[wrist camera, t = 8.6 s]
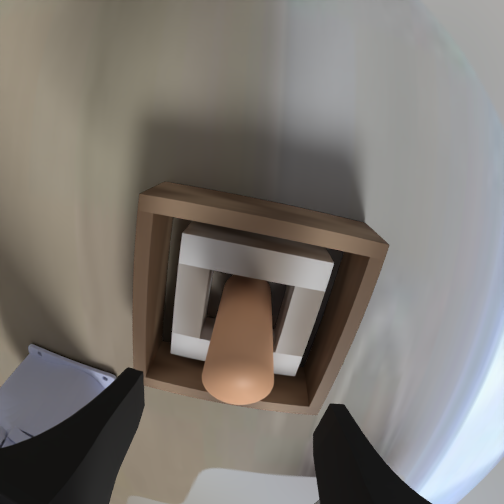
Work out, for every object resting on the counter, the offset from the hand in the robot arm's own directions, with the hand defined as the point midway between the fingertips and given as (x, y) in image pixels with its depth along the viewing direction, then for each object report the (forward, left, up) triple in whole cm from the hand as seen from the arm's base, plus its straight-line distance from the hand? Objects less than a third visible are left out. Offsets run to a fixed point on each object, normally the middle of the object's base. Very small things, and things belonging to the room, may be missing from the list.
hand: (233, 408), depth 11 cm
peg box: (0, 0, -10) cm, 10 cm away
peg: (0, 0, -10) cm, 10 cm away
